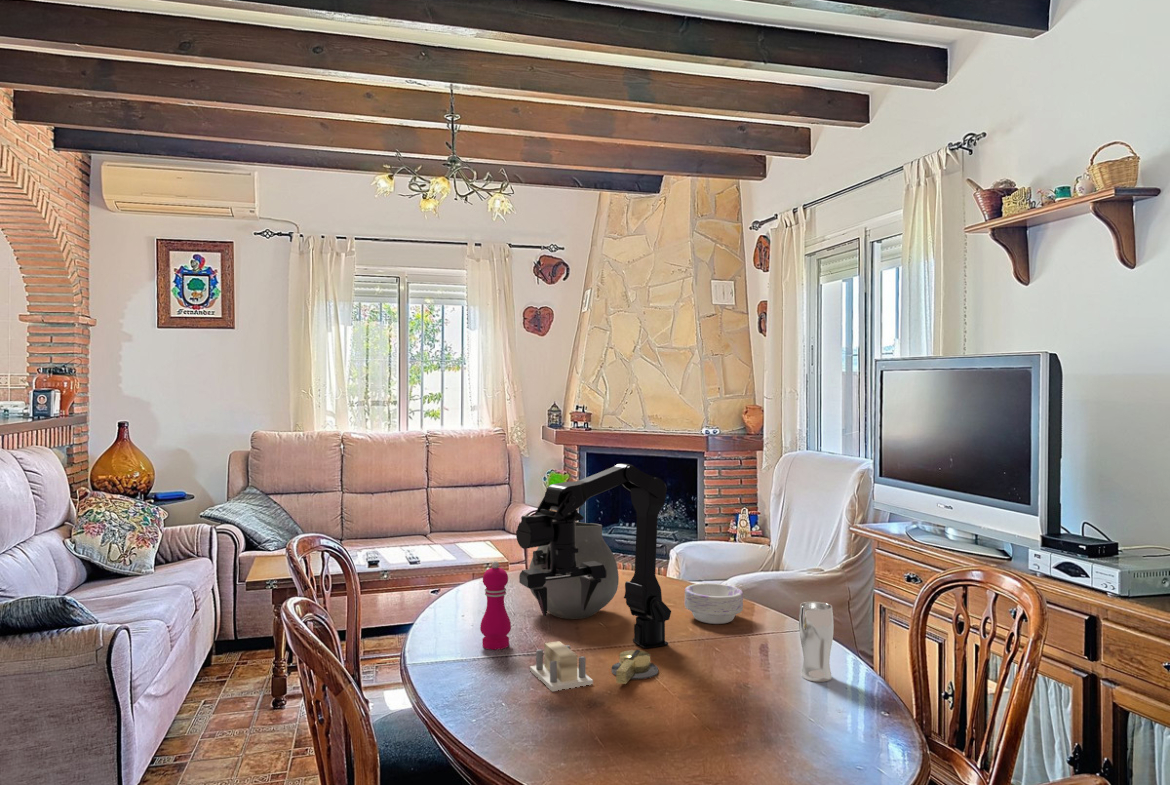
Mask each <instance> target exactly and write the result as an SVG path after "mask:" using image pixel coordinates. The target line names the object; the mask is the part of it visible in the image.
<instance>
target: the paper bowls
mask: <svg viewBox="0 0 1170 785" xmlns="http://www.w3.org/2000/svg"><path fill="white" fill-rule="evenodd" d="M684 607H685V609H687V610H689V611H690V612H691V614H692V616H693V618H694V619H695V620H697V621H699V622H701V623H705V624H710V625H711V624H713V625H719V624H720V625H721V624H723V625H724V624H727V623H728V624H729V623H730V622H732V621H733V620H734V618H735V617H736V615H738V614H740V613H741V612H742V611H743V610H744V592H743V590H742V589H740V588H739V587H736V586H732V585H727V584H722V583H705V582H704V583H696V584H691V585H688V586H686V587H685V588H684Z"/></svg>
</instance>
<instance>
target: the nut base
mask: <svg viewBox="0 0 1170 785" xmlns="http://www.w3.org/2000/svg"><path fill="white" fill-rule="evenodd" d="M619 667H620V666H619V662H616V663H614V664H613V665H612V666H611V673H612V674H613V675H614V676H615V675H616V671H617V669H618V668H619ZM658 674H659V667H658V666H657V665H656V664H655V663H653V662H650V669H649V670H647V671H644V672H635V673H634V675H633V676H632V677H631V678H630V680H646V679H645V678H647V679H651V678H653V676H654V677H655V676H657V675H658ZM650 677H651V678H650Z"/></svg>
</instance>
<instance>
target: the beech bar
mask: <svg viewBox="0 0 1170 785" xmlns="http://www.w3.org/2000/svg"><path fill="white" fill-rule="evenodd" d="M543 644H544V645H543V647H544V650H543V652H544V653H543V656H544V657H543V664H544V666H545V667H546V668H547V669H548V670H549V671H550V661H557V678H558V679H559V680H560V681H561V682H564V681H570V680H577V668H578V654H577V653H576V652H574V651H573V650H570V649H571V648H570V649H569V648H568V647H566V646H565V644H564V643H562V642H561V641H559V640H557V641H551V642H544V643H543Z"/></svg>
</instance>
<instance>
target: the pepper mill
mask: <svg viewBox="0 0 1170 785" xmlns="http://www.w3.org/2000/svg"><path fill="white" fill-rule="evenodd" d="M482 583H483V585H484V586H485V588H484V595H485V596H486V608H485V612H484V614H483V617H482V619H481V621H480V628H479V629H480V633H481V634H482V635H483V636H484V637H483V638H482V643H481V644H482V647H483V648H484V649H485V650H486V649H487V650H490V649H491V651H492V650H495V651H498V650H503V649H506V648H508V647H509V646H510V637H509V636H508V635H509V633H510V632H511V630H512V625H511V624H512V623H511V619H510V616H509V615H508V611H507V610H506V606H505V596H506V595H507V588H506V586H507V584H508V583H509V575H508V572H507V570H505V569H504V568H501V567H500V563H499V562H498V561H496V560H494V561H493V562H492V563H491V568H488V569H486V570H485V572H484V573H483V576H482ZM497 649H498V650H497Z"/></svg>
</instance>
